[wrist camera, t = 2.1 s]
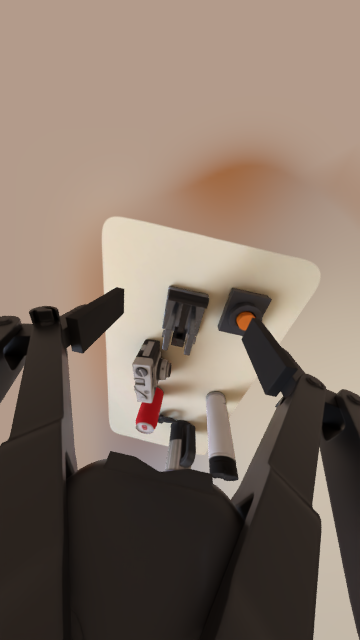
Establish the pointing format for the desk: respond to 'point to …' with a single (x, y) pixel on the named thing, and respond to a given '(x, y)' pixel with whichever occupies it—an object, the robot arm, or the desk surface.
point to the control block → (242, 309)
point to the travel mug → (220, 438)
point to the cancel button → (244, 320)
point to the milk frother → (180, 444)
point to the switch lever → (185, 312)
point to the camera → (149, 370)
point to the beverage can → (149, 413)
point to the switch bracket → (173, 319)
